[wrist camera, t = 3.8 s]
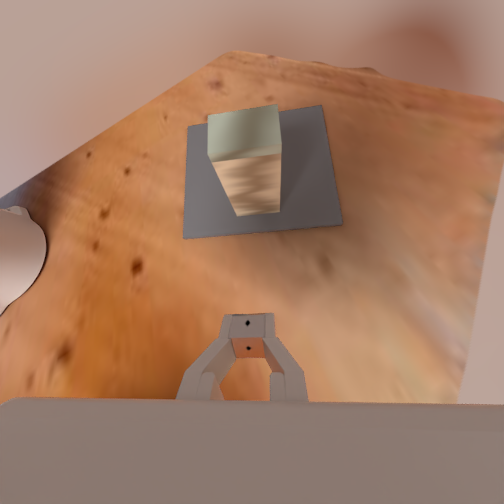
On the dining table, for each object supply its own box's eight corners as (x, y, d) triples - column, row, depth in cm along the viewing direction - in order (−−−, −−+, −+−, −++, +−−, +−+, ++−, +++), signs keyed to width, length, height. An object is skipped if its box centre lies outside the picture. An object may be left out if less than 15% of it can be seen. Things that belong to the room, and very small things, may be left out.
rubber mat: (184, 239, 28) (182, 238, 27) (189, 129, 33) (187, 126, 32) (341, 225, 25) (343, 223, 25) (320, 108, 30) (321, 105, 30)
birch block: (237, 216, 27) (207, 154, 16) (236, 191, 28) (207, 115, 17) (279, 212, 26) (281, 143, 15) (277, 186, 27) (277, 104, 16)
